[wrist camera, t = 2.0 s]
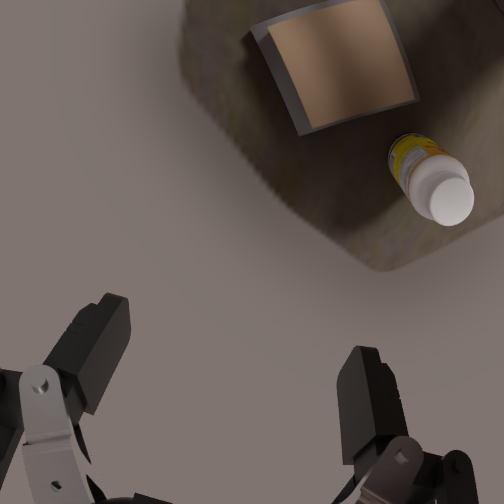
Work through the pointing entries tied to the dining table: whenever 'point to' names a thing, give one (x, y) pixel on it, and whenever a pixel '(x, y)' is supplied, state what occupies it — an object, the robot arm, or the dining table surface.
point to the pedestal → (337, 62)
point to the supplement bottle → (431, 179)
